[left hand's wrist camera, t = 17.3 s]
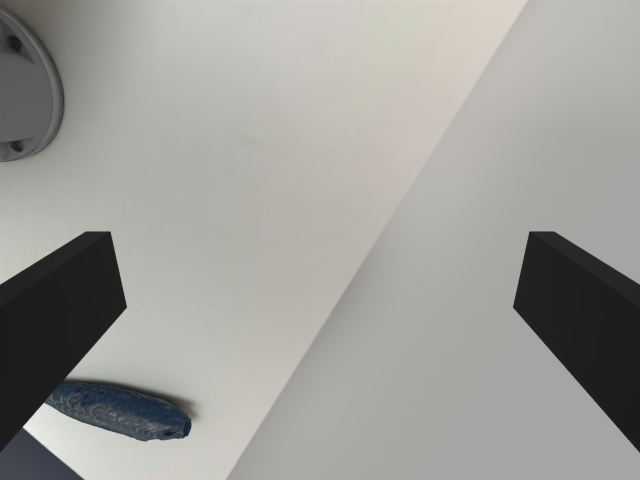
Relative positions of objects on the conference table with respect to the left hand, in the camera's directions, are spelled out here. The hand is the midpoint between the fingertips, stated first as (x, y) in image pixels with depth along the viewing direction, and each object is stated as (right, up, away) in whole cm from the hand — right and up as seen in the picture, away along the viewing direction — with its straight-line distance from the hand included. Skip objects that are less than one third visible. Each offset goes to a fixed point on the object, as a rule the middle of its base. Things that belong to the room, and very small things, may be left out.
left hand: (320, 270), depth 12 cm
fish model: (-28, -21, +41) cm, 54 cm away
